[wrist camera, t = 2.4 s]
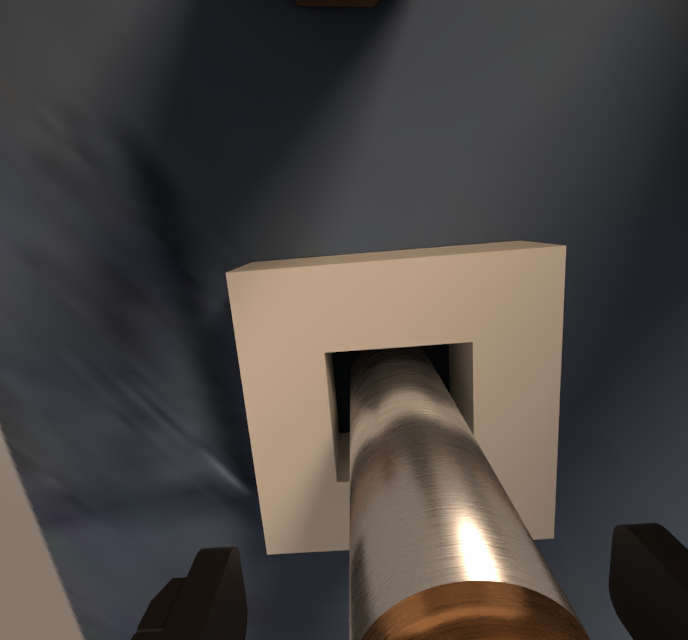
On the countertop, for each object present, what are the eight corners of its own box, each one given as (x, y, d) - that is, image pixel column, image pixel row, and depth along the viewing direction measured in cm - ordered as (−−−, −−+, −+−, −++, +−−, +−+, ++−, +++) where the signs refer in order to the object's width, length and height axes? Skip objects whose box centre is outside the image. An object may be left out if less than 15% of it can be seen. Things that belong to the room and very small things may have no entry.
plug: (432, 334, 19) (684, 682, 5) (434, 412, 20) (651, 907, 6) (346, 340, 19) (335, 696, 5) (353, 418, 20) (359, 914, 6)
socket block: (520, 240, 18) (566, 245, 14) (516, 479, 21) (553, 538, 17) (251, 262, 19) (225, 272, 15) (282, 494, 21) (266, 554, 18)
